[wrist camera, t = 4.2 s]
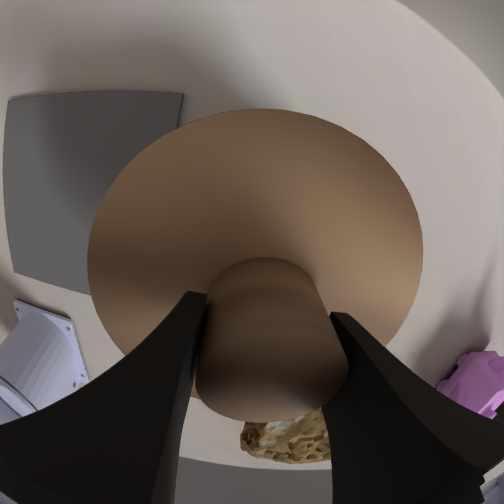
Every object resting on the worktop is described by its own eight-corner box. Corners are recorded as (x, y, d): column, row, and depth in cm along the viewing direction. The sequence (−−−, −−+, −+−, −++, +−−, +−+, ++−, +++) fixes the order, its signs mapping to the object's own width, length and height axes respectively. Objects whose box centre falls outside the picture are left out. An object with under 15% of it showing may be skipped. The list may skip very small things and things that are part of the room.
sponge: (238, 417, 29) (366, 449, 29) (229, 465, 21) (378, 489, 21) (289, 336, 26) (425, 384, 26) (293, 383, 19) (451, 421, 19)
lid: (342, 395, 14) (362, 455, 10) (112, 371, 12) (89, 437, 8) (451, 174, 8) (530, 210, 5) (106, 89, 7) (20, 77, 3)
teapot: (471, 315, 22) (518, 372, 13) (511, 321, 24) (546, 362, 15) (392, 415, 30) (413, 469, 21) (445, 405, 31) (466, 447, 22)
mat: (159, 307, 20) (158, 311, 19) (16, 270, 18) (14, 272, 18) (183, 94, 14) (182, 93, 13) (11, 101, 12) (8, 101, 12)
